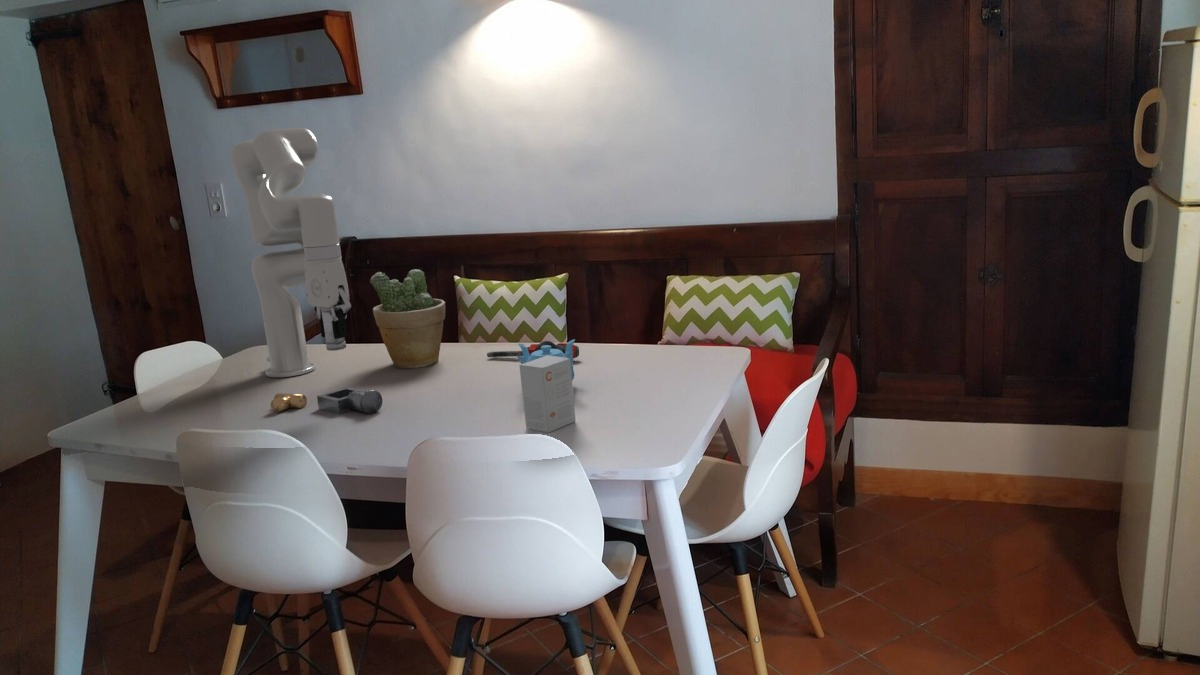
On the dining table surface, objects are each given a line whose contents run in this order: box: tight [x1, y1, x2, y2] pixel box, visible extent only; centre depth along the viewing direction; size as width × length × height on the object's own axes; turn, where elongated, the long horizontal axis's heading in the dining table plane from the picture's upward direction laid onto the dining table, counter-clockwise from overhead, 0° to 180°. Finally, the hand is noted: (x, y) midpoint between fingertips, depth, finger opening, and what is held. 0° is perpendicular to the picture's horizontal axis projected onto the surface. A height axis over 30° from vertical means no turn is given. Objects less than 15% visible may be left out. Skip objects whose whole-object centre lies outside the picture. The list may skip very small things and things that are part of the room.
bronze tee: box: [270, 392, 308, 414], centre depth 210 cm, size 7×6×3 cm
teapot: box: [515, 338, 576, 381], centre depth 208 cm, size 13×13×10 cm
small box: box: [519, 356, 576, 434], centre depth 182 cm, size 8×6×13 cm
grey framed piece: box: [316, 386, 383, 415], centre depth 205 cm, size 15×8×5 cm, turn 50°
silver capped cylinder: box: [321, 302, 347, 351], centre depth 204 cm, size 4×4×10 cm
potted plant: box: [369, 269, 446, 369], centre depth 241 cm, size 18×19×25 cm
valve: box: [486, 340, 580, 359], centre depth 240 cm, size 6×26×15 cm
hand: (334, 336), depth 204 cm, fingers closed on silver capped cylinder, 4 cm apart
